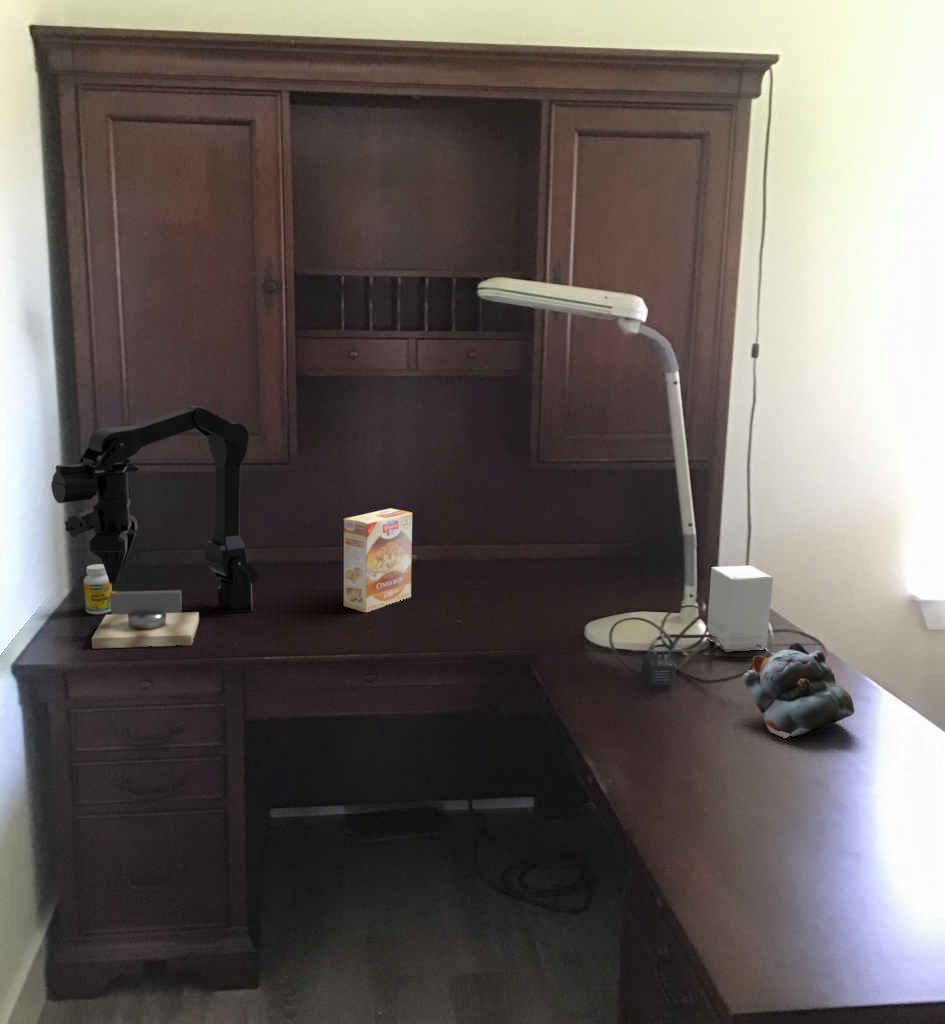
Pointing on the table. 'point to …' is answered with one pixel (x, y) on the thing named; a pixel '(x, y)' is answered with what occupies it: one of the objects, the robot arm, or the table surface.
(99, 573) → the supplement bottle
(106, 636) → the base plate
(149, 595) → the silver dome with handle
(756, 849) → the table surface
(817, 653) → the lucky cat figurine
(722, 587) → the supplement box
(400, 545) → the coffeecake box
